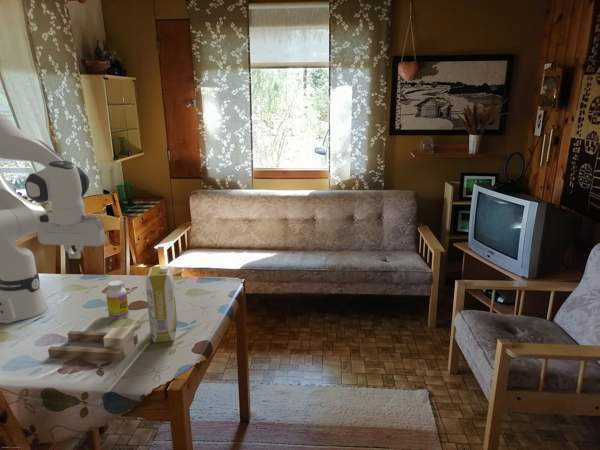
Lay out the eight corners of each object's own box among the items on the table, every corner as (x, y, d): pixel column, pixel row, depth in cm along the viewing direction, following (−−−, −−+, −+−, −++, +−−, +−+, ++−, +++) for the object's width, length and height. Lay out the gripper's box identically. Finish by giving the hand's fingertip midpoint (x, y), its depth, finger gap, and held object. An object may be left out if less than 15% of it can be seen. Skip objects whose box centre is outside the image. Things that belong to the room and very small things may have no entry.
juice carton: (176, 342, 139) (170, 272, 133) (150, 344, 137) (143, 273, 131) (178, 328, 148) (172, 261, 141) (154, 330, 146) (147, 263, 140)
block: (105, 355, 129) (103, 337, 127) (115, 345, 135) (113, 327, 133) (125, 356, 128) (122, 338, 127) (134, 346, 134) (132, 328, 133)
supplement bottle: (122, 321, 152) (117, 287, 149) (105, 319, 154) (100, 285, 150) (132, 312, 159) (129, 280, 155) (116, 311, 160) (112, 278, 157)
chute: (50, 361, 128) (47, 348, 127) (72, 342, 139) (70, 330, 138) (121, 365, 126) (119, 352, 125) (138, 345, 137) (137, 333, 136)
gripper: (107, 213, 134) (112, 255, 138) (44, 211, 136) (51, 253, 140) (95, 218, 128) (101, 262, 132) (30, 216, 130) (38, 260, 134)
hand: (75, 258), depth 136 cm, fingers closed
